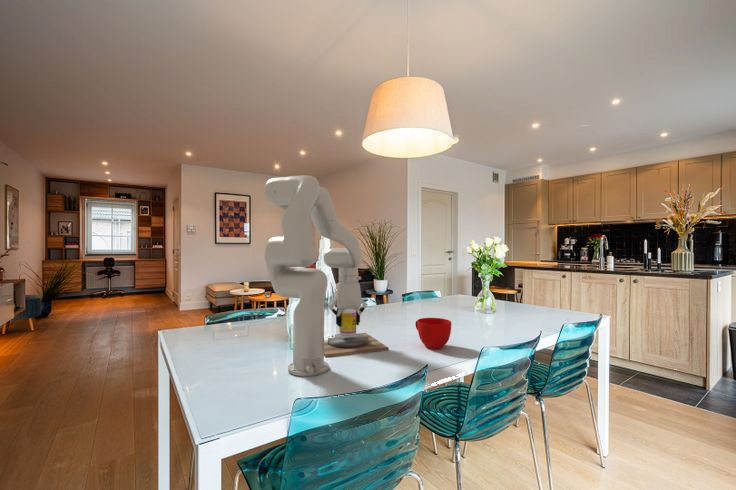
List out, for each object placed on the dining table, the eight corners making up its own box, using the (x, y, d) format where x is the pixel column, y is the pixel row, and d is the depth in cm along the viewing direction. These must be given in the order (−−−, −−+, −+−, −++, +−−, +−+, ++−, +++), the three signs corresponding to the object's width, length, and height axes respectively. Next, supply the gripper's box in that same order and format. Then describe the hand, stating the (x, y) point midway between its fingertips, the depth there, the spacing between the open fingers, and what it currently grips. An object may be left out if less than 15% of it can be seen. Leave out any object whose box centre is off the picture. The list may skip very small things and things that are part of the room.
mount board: (388, 350, 130) (388, 343, 130) (325, 357, 121) (325, 350, 121) (365, 335, 152) (365, 329, 152) (311, 340, 144) (311, 334, 144)
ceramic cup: (427, 338, 147) (427, 314, 147) (458, 348, 133) (458, 322, 133) (403, 343, 140) (403, 318, 140) (433, 354, 126) (433, 326, 126)
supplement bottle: (354, 337, 133) (354, 303, 133) (337, 336, 134) (337, 302, 134) (358, 332, 140) (358, 300, 140) (342, 331, 141) (342, 300, 141)
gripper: (365, 278, 144) (365, 321, 143) (324, 279, 137) (324, 325, 137) (372, 279, 137) (372, 325, 136) (329, 281, 130) (328, 329, 130)
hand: (348, 324), depth 137 cm, fingers closed on supplement bottle, 6 cm apart
